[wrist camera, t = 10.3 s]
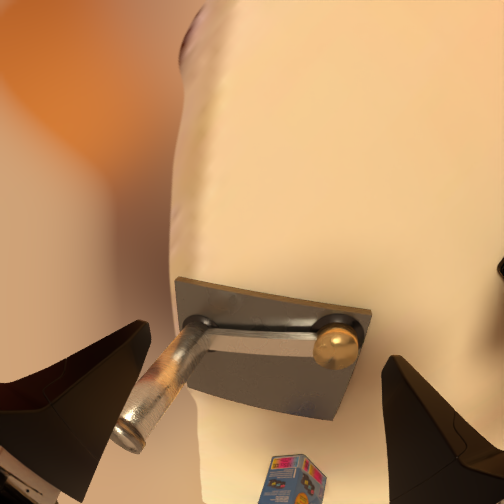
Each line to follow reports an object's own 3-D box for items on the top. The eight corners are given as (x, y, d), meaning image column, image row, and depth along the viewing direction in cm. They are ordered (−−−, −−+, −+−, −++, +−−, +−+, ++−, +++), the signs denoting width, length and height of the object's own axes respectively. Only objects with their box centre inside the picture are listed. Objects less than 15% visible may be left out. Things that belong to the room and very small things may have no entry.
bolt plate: (178, 276, 25) (173, 280, 24) (371, 310, 21) (372, 315, 20) (190, 382, 30) (187, 387, 30) (333, 415, 26) (332, 421, 25)
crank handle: (358, 321, 20) (357, 478, 8) (356, 355, 21) (347, 500, 9) (180, 316, 25) (89, 413, 13) (189, 346, 26) (113, 443, 14)
